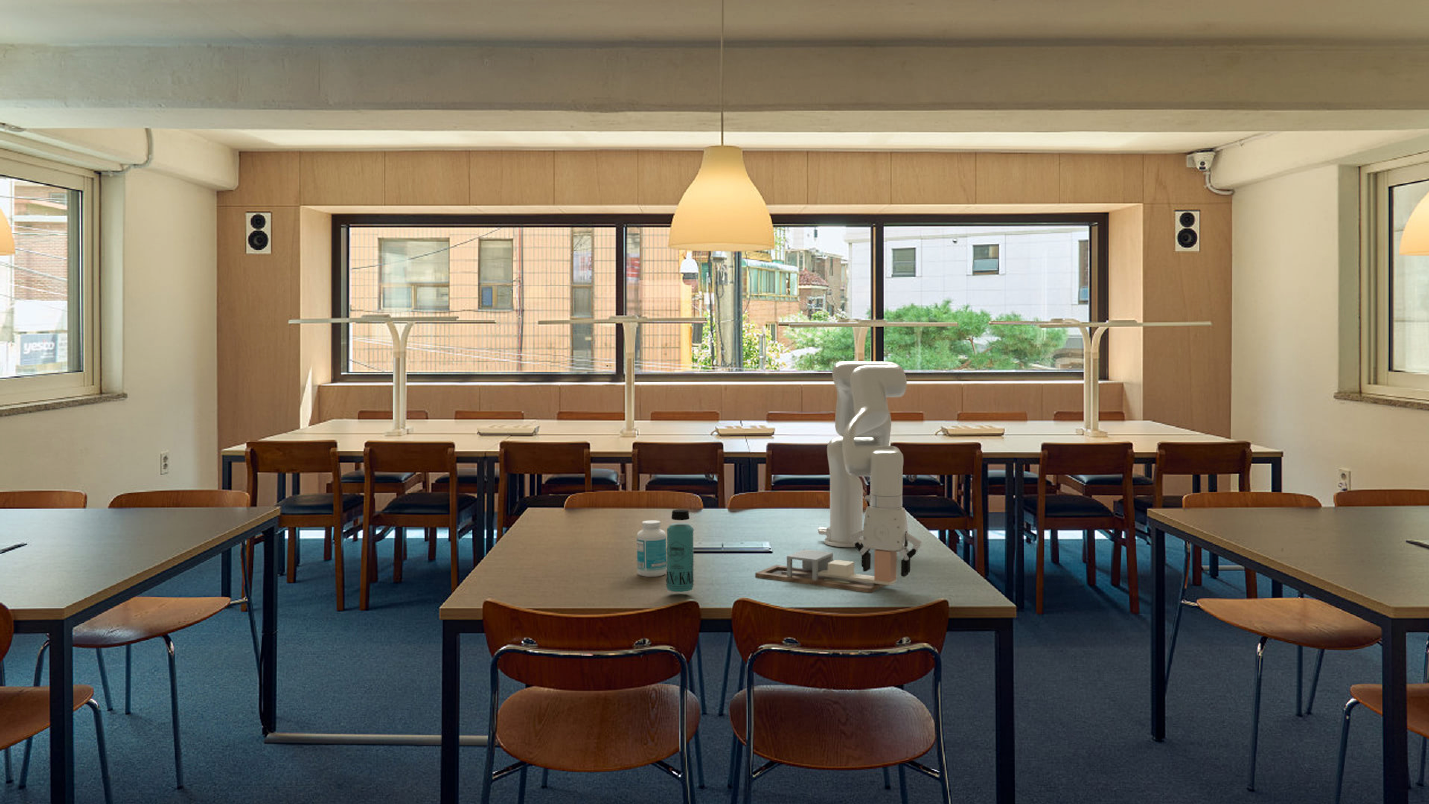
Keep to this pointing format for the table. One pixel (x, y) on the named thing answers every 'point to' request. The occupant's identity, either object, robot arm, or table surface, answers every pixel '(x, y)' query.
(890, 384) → the robot arm
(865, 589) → the rail board
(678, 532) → the beverage bottle
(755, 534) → the table surface
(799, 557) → the bridge tunnel
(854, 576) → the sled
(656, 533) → the pill bottle
